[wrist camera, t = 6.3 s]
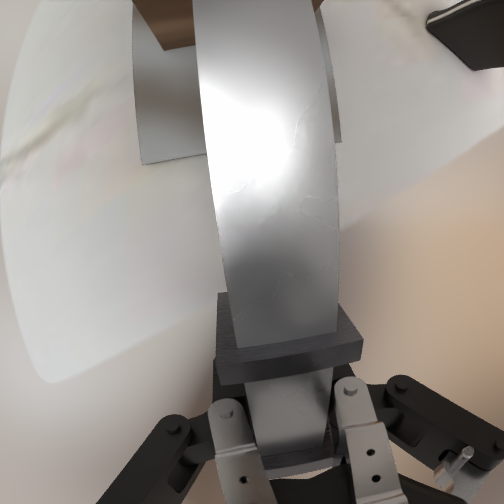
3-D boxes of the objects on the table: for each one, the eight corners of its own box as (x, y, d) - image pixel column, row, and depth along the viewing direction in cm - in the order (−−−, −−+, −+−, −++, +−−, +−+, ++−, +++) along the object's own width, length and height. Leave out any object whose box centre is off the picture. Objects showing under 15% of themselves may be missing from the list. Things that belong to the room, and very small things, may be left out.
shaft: (176, -24, 6) (158, -90, 2) (287, -31, 6) (316, -94, 2) (240, 414, 13) (246, 481, 9) (318, 401, 14) (340, 463, 9)
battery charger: (476, 48, 14) (559, 36, 3) (474, 74, 15) (566, 68, 4) (426, 3, 12) (509, -33, 1) (422, 28, 13) (518, -7, 3)
